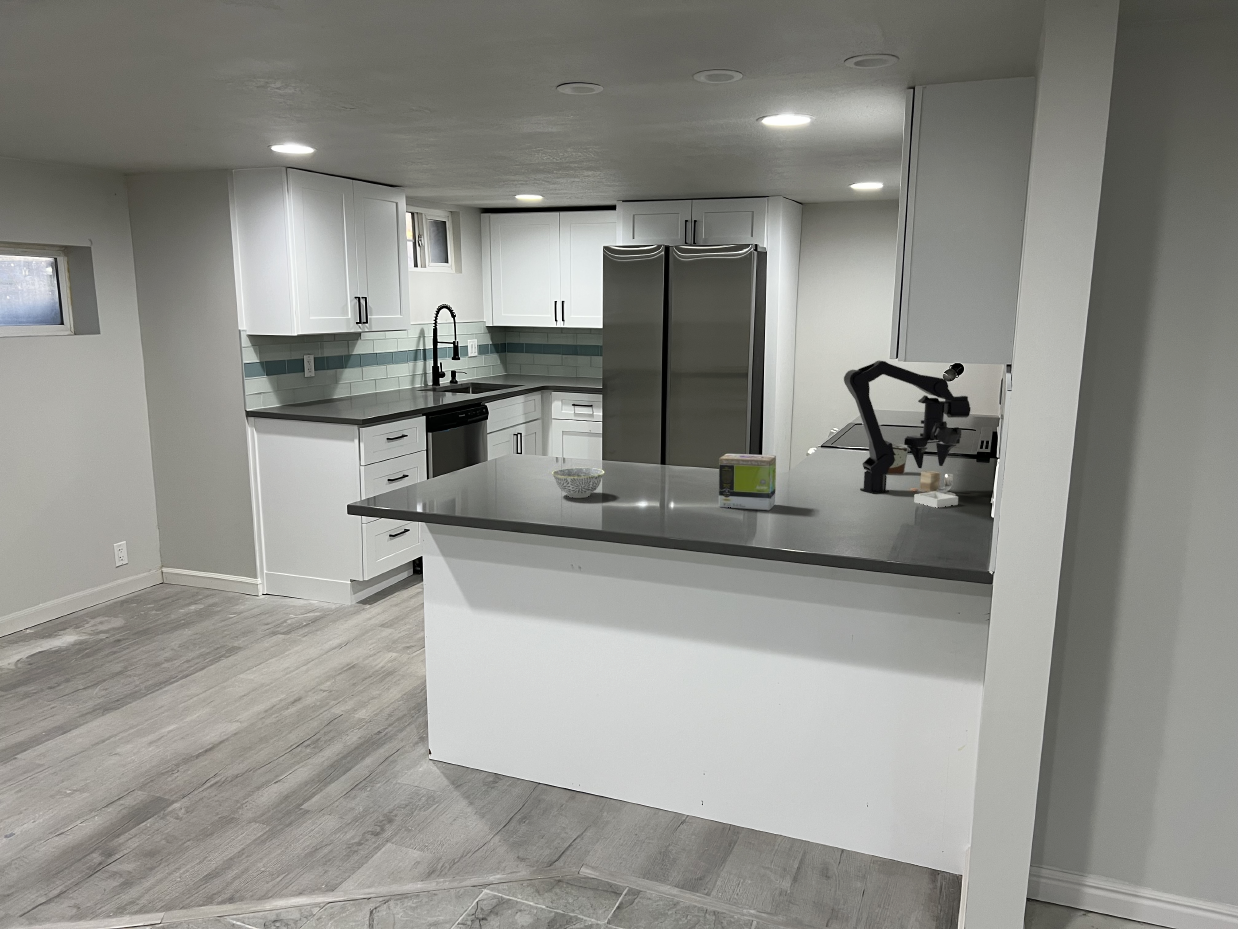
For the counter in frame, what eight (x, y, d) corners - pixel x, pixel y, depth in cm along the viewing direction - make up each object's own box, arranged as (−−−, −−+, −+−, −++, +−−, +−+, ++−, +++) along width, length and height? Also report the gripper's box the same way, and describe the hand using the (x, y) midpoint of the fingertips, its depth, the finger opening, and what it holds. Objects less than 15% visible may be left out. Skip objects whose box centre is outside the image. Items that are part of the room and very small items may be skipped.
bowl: (549, 501, 269) (549, 476, 268) (555, 490, 285) (554, 467, 283) (603, 501, 268) (603, 476, 267) (605, 490, 284) (605, 467, 283)
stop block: (929, 492, 282) (931, 474, 281) (920, 490, 285) (921, 471, 284) (938, 491, 284) (940, 472, 283) (929, 489, 287) (930, 470, 286)
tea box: (775, 504, 265) (777, 454, 262) (769, 511, 256) (770, 460, 253) (725, 500, 270) (726, 451, 267) (717, 507, 261) (718, 457, 258)
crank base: (942, 500, 270) (942, 497, 270) (902, 491, 284) (902, 488, 284) (961, 497, 274) (961, 494, 274) (920, 488, 288) (921, 485, 288)
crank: (945, 494, 273) (946, 480, 273) (935, 493, 275) (936, 479, 274) (953, 487, 283) (954, 474, 282) (943, 486, 285) (944, 473, 284)
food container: (904, 471, 318) (906, 443, 317) (908, 474, 312) (909, 446, 311) (868, 470, 320) (870, 442, 318) (871, 473, 314) (873, 445, 312)
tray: (936, 507, 260) (937, 499, 260) (914, 502, 268) (914, 494, 267) (957, 504, 264) (958, 496, 264) (934, 499, 272) (935, 491, 271)
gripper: (932, 422, 269) (929, 473, 272) (975, 418, 278) (972, 468, 281) (904, 418, 279) (901, 467, 281) (947, 415, 288) (943, 463, 290)
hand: (930, 467), depth 283 cm, fingers open, 9 cm apart
